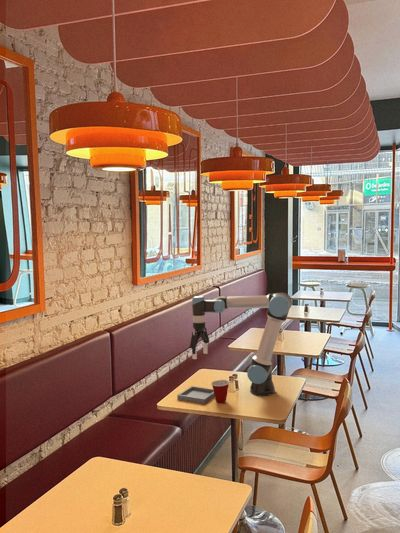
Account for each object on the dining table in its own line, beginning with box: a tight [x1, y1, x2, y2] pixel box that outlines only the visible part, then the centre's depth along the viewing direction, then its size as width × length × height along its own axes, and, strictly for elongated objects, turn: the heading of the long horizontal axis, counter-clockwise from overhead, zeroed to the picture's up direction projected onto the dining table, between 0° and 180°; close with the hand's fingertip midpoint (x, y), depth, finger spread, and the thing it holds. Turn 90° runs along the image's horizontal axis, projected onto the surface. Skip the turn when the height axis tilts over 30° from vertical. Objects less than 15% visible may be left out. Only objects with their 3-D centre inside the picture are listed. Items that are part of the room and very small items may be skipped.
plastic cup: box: [210, 379, 230, 405], centre depth 287 cm, size 11×11×12 cm
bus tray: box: [177, 385, 215, 405], centre depth 297 cm, size 18×18×3 cm
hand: (200, 356), depth 300 cm, fingers open, 13 cm apart
